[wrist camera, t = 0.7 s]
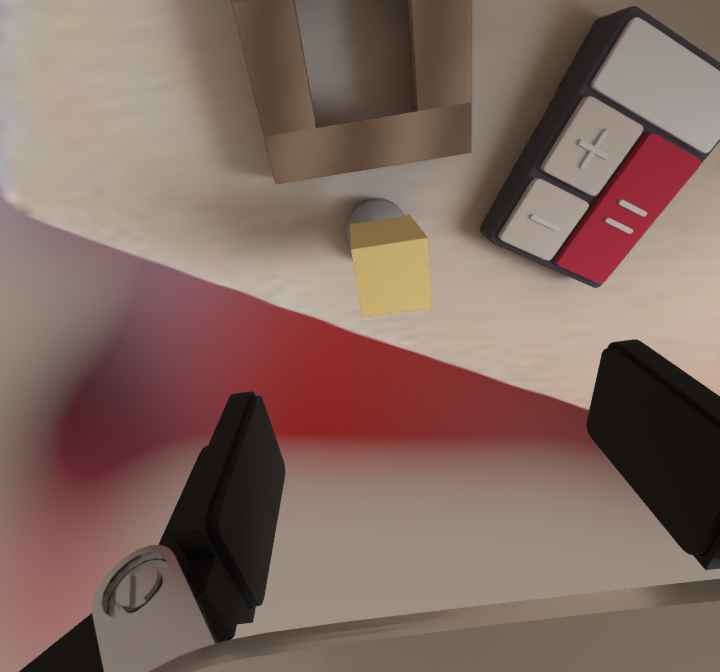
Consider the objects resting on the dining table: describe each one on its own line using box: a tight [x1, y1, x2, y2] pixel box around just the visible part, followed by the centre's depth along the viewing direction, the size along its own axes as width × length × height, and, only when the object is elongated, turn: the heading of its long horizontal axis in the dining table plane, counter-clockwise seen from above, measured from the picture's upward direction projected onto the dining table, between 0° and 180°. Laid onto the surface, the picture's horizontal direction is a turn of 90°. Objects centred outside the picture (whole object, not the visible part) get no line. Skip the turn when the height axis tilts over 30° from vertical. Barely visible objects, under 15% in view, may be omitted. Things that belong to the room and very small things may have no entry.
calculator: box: [480, 6, 720, 288], centre depth 27 cm, size 11×4×15 cm
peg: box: [346, 199, 432, 318], centre depth 25 cm, size 5×5×12 cm
